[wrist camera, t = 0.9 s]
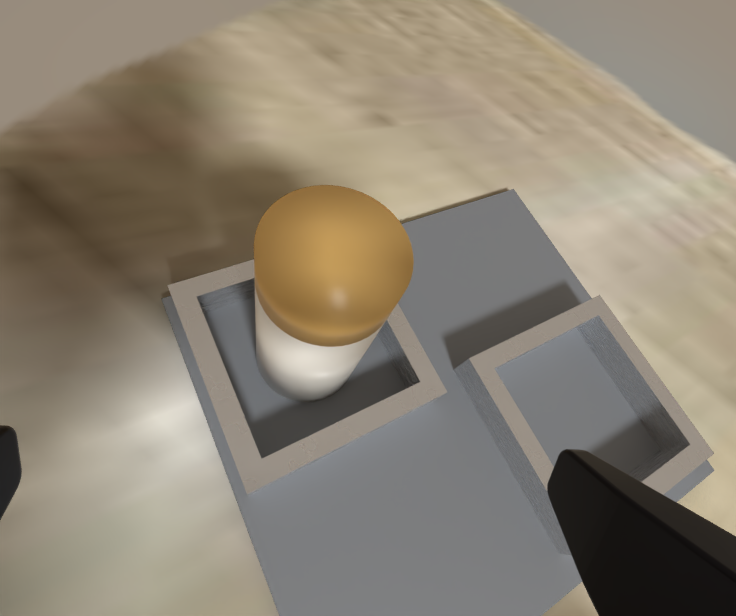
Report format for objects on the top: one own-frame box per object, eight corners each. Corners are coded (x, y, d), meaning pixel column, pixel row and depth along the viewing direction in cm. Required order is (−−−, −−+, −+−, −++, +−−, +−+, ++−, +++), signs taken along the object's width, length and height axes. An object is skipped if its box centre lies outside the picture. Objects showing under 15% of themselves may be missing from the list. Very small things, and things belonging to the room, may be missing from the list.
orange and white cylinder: (370, 377, 22) (441, 290, 14) (279, 419, 21) (294, 348, 12) (329, 297, 24) (370, 171, 15) (241, 328, 22) (228, 206, 13)
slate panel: (706, 471, 25) (714, 470, 25) (339, 775, 16) (341, 782, 16) (509, 193, 31) (513, 189, 31) (163, 302, 22) (161, 298, 22)
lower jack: (681, 457, 25) (714, 453, 23) (558, 553, 21) (586, 557, 19) (577, 309, 28) (599, 295, 26) (453, 369, 24) (468, 358, 22)
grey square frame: (432, 401, 23) (447, 392, 21) (248, 495, 19) (247, 494, 17) (349, 248, 26) (356, 228, 24) (174, 303, 22) (167, 285, 20)
